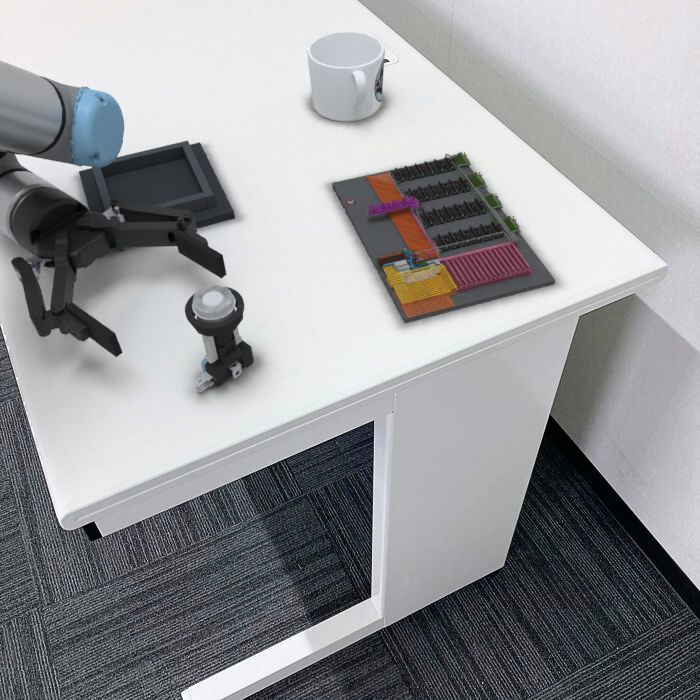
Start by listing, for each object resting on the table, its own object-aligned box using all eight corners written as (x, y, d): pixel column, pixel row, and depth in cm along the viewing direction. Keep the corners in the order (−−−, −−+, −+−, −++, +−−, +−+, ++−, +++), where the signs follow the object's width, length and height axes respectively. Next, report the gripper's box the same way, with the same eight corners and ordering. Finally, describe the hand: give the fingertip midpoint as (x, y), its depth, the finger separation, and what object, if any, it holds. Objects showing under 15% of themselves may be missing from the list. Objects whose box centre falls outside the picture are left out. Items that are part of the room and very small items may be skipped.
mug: (303, 90, 109) (299, 36, 102) (372, 79, 110) (372, 26, 104) (325, 140, 100) (322, 85, 94) (399, 127, 102) (401, 72, 96)
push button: (216, 408, 71) (197, 338, 63) (180, 379, 73) (158, 308, 66) (266, 367, 74) (254, 296, 66) (230, 341, 76) (215, 269, 69)
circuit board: (554, 283, 81) (559, 265, 79) (404, 323, 78) (405, 304, 75) (460, 158, 97) (462, 140, 95) (332, 186, 93) (331, 168, 91)
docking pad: (102, 253, 86) (95, 234, 84) (80, 177, 96) (74, 159, 93) (235, 218, 90) (231, 199, 87) (201, 148, 99) (197, 130, 97)
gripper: (138, 191, 90) (264, 264, 81) (-48, 306, 77) (77, 408, 68) (122, 137, 84) (256, 209, 75) (-80, 252, 72) (51, 355, 63)
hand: (171, 304), depth 72 cm, fingers open, 13 cm apart
